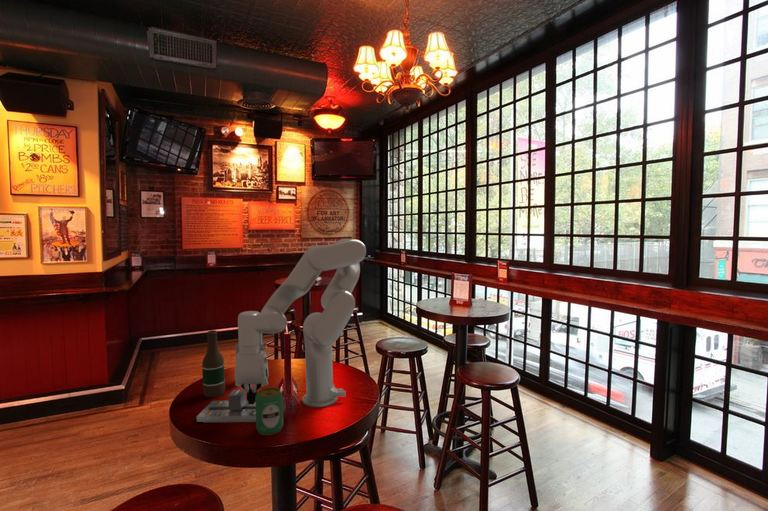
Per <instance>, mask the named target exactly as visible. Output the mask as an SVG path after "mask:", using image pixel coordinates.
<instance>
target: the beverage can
mask: <svg viewBox="0 0 768 511" xmlns="http://www.w3.org/2000/svg"><path fill="white" fill-rule="evenodd" d="M255 402H256V422H255V424H256V425H255V427H256V430H257V433H258V434H259V435H260V436H261V435H262V436H272V435H275V434H276V435H277V434H278V433H279V432H281V431H282V429H283V427H284V402H283V393H282V391H281V389H280V388H279V387H275V386H272V387H271V386H270V387H264V388H261V389H258V390H257V395H256V397H255Z"/></svg>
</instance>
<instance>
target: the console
mask: <svg viewBox="0 0 768 511" xmlns="http://www.w3.org/2000/svg"><path fill="white" fill-rule="evenodd" d="M197 422H203V423H256V402H255V403H254V404H253V405H252V404H250V405H248V401H247V399H246V404H245V405H244V407H243V408H242V409H241V410H229V404H228V400H211V401H210V403H208V405H206V407H204V409H202V410H201V412H199V414H197V415H196V423H197Z"/></svg>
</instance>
